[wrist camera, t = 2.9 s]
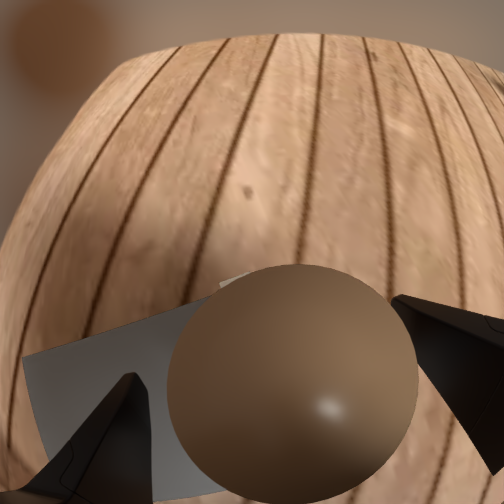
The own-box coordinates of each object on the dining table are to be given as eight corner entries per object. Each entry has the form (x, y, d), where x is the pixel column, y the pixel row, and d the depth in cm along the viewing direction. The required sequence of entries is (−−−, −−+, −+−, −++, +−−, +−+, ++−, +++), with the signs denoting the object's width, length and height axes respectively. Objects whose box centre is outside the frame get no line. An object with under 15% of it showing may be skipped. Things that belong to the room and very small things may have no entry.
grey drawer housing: (99, 485, 13) (67, 501, 9) (59, 364, 17) (21, 357, 13) (282, 449, 15) (288, 471, 11) (227, 311, 19) (217, 293, 15)
